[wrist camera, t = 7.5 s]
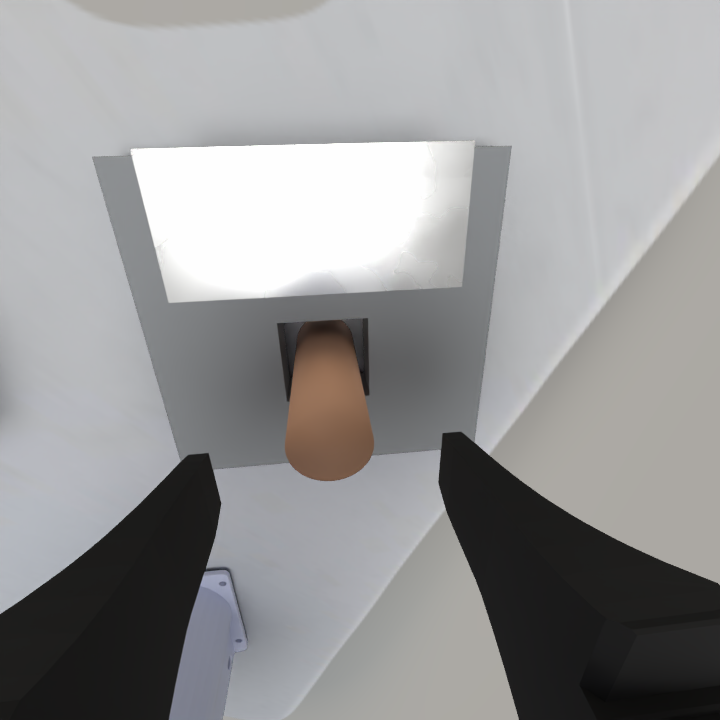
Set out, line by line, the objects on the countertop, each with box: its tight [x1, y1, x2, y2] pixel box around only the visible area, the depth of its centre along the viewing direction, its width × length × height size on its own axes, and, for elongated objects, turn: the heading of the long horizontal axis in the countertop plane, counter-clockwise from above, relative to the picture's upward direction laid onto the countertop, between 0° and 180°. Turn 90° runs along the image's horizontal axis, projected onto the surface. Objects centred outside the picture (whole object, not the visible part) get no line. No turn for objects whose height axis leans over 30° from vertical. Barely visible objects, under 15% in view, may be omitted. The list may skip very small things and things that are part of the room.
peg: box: [285, 320, 374, 481], centre depth 17 cm, size 3×3×9 cm
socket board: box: [92, 146, 512, 469], centre depth 19 cm, size 15×16×2 cm
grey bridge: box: [130, 141, 475, 303], centre depth 14 cm, size 4×10×4 cm, turn 92°
